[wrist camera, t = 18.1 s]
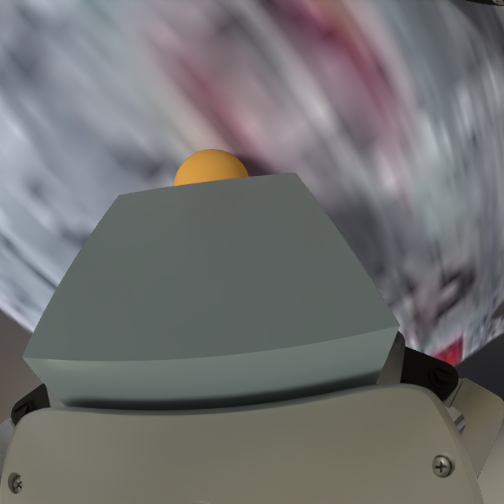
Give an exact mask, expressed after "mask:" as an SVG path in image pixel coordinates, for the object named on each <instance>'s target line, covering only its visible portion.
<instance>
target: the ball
mask: <svg viewBox="0 0 504 504" xmlns="http://www.w3.org/2000/svg"><path fill="white" fill-rule="evenodd" d="M242 177H249V175H248V173H247V170H246V169H245V167H244V165H243V164H242V163H241V162H240V161H239V160H238V159H237V158H236V157H235V156H233V155H232V154H230V153H228V152H225V151H222V150H216V149H209V150H203V151H200V152H197V153H195V154H193V155H192V156H190V157H189V158H188V159H186V160H185V161H184V163H183V164H182V165H181V166H180V168H179V170H178V172H177V174H176V177H175V181H174V186H178V185H185V184H192V183H200V182H208V181H216V180H224V179H233V178H242Z"/></svg>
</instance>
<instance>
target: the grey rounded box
mask: <svg viewBox="0 0 504 504" xmlns="http://www.w3.org/2000/svg"><path fill="white" fill-rule="evenodd" d="M399 326H400V324H399V323H398V321H397V319H396V318H395V316H394V314H393V313H392V311H391V310H390V308H389V306H388V305H387V303H386V301H385V300H384V298H383V297H382V295H381V293H380V292H379V290H378V289H377V287H376V285H375V284H374V282H373V281H372V279H371V278H370V276H369V275H368V273H367V272H366V270H365V269H364V267H363V266H362V264H361V262H360V261H359V260H358V258H357V257H356V255H355V254H354V252H353V251H352V249H351V248H350V246H349V245H348V243H347V242H346V240H345V239H344V238H343V236H342V235H341V233H340V232H339V230H338V229H337V228H336V226H335V225H334V223H333V222H332V221H331V219H330V218H329V216H328V215H327V214H326V212H325V211H324V210H323V208H322V207H321V205H320V204H319V203H318V201H317V200H316V199H315V197H314V196H313V195H312V193H311V192H310V191H309V189H308V188H307V187H306V186H305V184H304V183H303V182H302V180H301V179H300V178H299V176H298V175H297V174H296V173H286V174H274V175H263V176H252V177H242V178H233V179H224V180H216V181H208V182H200V183H192V184H185V185H178V186H171V187H165V188H158V189H152V190H146V191H140V192H134V193H129V194H123V195H119V196H118V197H117V199H116V200H115V201H114V203H113V204H112V205H111V207H110V208H109V209H108V211H107V212H106V214H105V215H104V216H103V218H102V219H101V220H100V222H99V223H98V225H97V226H96V228H95V229H94V230H93V232H92V233H91V235H90V236H89V238H88V239H87V241H86V242H85V244H84V245H83V247H82V248H81V250H80V251H79V253H78V255H77V256H76V258H75V259H74V261H73V263H72V264H71V266H70V267H69V269H68V271H67V272H66V274H65V276H64V277H63V279H62V281H61V282H60V284H59V286H58V288H57V289H56V291H55V293H54V295H53V296H52V298H51V300H50V302H49V304H48V305H47V307H46V309H45V311H44V313H43V315H42V317H41V319H40V321H39V323H38V325H37V327H36V329H35V331H34V333H33V335H32V337H31V339H30V341H29V343H28V345H27V347H26V350H25V352H24V354H23V357H22V358H23V359H24V360H25V361H26V363H27V364H28V365H29V366H30V368H31V369H32V370H33V371H34V372H35V374H36V375H37V376H38V377H39V378H40V379H41V381H42V382H43V383H44V384H45V385H46V386H47V387H48V388H49V389H50V391H51V392H52V393H53V394H54V395H55V396H56V397H57V398H58V399H59V400H60V401H61V402H62V403H63V404H64V405H65V406H67V407H85V408H100V409H119V410H194V409H212V408H225V407H236V406H246V405H255V404H263V403H271V402H278V401H285V400H291V399H298V398H303V397H309V396H315V395H320V394H326V393H331V392H336V391H341V390H346V389H350V388H356V387H361V386H366V385H374V384H376V382H377V379H378V377H379V375H380V373H381V371H382V368H383V366H384V364H385V361H386V359H387V357H388V354H389V352H390V349H391V347H392V345H393V342H394V339H395V337H396V334H397V332H398V329H399Z"/></svg>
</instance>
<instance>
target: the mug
mask: <svg viewBox="0 0 504 504" xmlns="http://www.w3.org/2000/svg"><path fill="white" fill-rule="evenodd" d="M466 1H470V2H476V3H482V4H489V5H496V6H504V0H466Z"/></svg>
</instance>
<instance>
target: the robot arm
mask: <svg viewBox="0 0 504 504" xmlns="http://www.w3.org/2000/svg"><path fill="white" fill-rule="evenodd" d="M503 417H504V402H503V401H502V399H501V398H500V397H498V396H497V395H495V394H493V393H491V392H490V391H488V390H486V389H484V388H482V387H480V386H479V385H477V384H475V383H473V382H471V381H470V380H467V379H466V378H464V379H463V380H461V379H460V378H459V376H458V373H457V371H456V369H455V368H454V367H453V366H452V365H450V364H448V363H447V362H444V361H441V360H439V359H436V358H434V357H431V356H429V355H426V354H424V353H421V352H418V351H416V350H413V349H411V348H408V347H406V346H405V339H404V337H403V335H402V334H401V333H400V332H399V331H398V332H397V334H396V337H395V339H394V342H393V345H392V347H391V349H390V352H389V354H388V357H387V359H386V361H385V364H384V366H383V368H382V371H381V373H380V375H379V377H378V379H377V382H376V384H374V385H366V386H361V387H356V388H350V389H346V390H341V391H336V392H331V393H326V394H320V395H315V396H309V397H303V398H298V399H291V400H285V401H278V402H271V403H263V404H255V405H246V406H236V407H225V408H212V409H194V410H119V409H100V408H85V407H67V406H65V405H64V404H63V403H62V402H61V401H60V400H59V399H58V398H57V397H56V396H55V395H54V394H53V393H52V392H51V391H50V389H49V388H48V387H47V386H46V385H45V384H44V383H43V384H42V385H40V386H39V387H37V388H36V389H34V390H33V391H32V392H30V393H29V394H28V395H26V396H25V397H23V398H22V399H21V400H19V401H18V402H17V403H16V404H15V406H14V407H13V409H12V413H11V420H10V419H9V418H7V419H6V420H5V421H4V422H3V423H2V424H1V425H0V504H484V502H483V498H482V494H481V490H480V487H479V484H478V481H477V479H478V477H479V475H480V473H481V471H482V469H483V467H484V465H485V463H486V460H487V458H488V456H489V454H490V451H491V449H492V447H493V444H494V442H495V439H496V437H497V434H498V431H499V429H500V426H501V423H502V420H503Z"/></svg>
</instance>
